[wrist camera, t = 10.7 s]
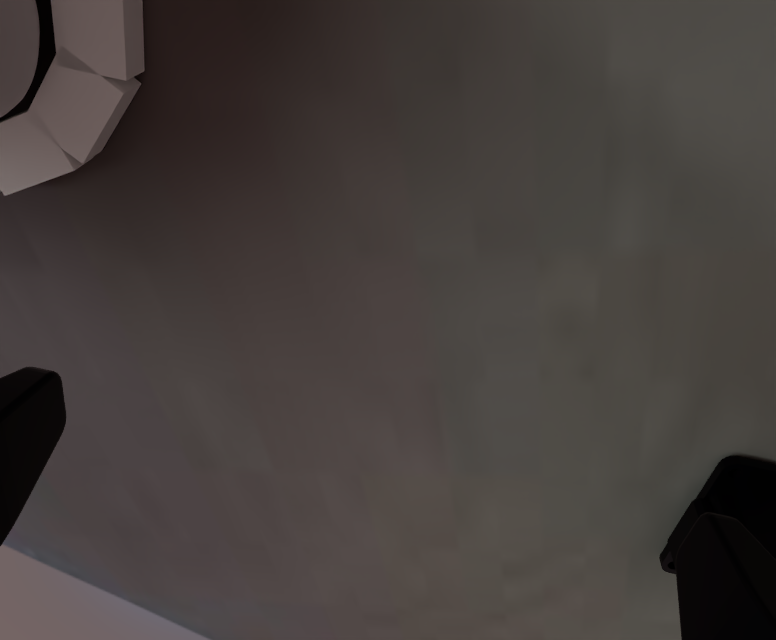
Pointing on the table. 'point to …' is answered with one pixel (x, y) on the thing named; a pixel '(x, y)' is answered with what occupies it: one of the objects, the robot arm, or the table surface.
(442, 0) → the table surface
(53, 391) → the robot arm
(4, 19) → the beverage can
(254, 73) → the table surface
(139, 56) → the socket ring
